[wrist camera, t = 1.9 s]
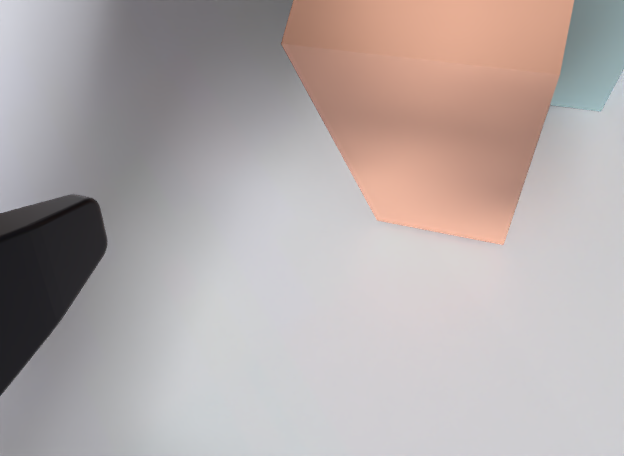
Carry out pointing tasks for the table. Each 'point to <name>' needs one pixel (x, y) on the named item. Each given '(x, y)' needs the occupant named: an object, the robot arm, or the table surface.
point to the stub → (433, 100)
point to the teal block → (591, 55)
